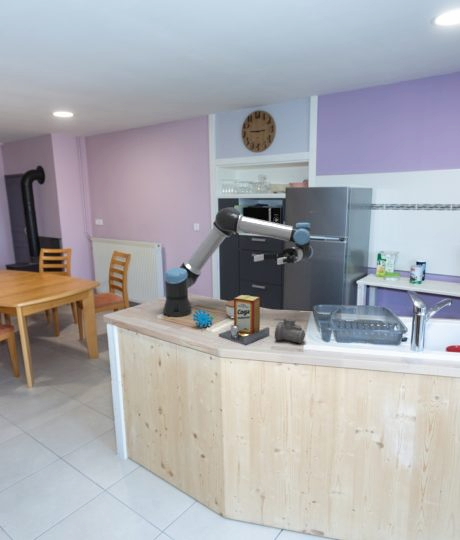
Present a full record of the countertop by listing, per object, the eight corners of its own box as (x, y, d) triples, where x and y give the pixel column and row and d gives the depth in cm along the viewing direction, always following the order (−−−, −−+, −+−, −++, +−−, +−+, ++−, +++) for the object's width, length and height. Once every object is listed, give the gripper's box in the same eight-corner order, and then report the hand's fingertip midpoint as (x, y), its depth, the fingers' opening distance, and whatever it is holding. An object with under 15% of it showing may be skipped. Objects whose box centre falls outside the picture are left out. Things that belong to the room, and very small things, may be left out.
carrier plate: (218, 336, 172) (218, 323, 171) (242, 327, 184) (242, 315, 183) (246, 345, 162) (246, 331, 161) (269, 335, 173) (269, 322, 172)
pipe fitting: (272, 341, 165) (275, 318, 163) (278, 336, 172) (282, 314, 170) (299, 348, 160) (303, 325, 158) (304, 344, 167) (308, 321, 165)
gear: (197, 327, 180) (191, 309, 185) (192, 333, 184) (187, 315, 189) (217, 326, 186) (211, 308, 191) (212, 332, 190) (206, 314, 195)
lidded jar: (221, 317, 200) (221, 299, 199) (237, 313, 207) (236, 296, 206) (235, 321, 192) (235, 303, 191) (250, 317, 199) (250, 299, 198)
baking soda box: (259, 330, 175) (259, 296, 172) (253, 335, 169) (253, 299, 166) (240, 327, 179) (240, 294, 176) (234, 332, 174) (233, 297, 171)
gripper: (313, 265, 187) (288, 271, 172) (271, 259, 204) (245, 265, 189) (313, 249, 186) (288, 254, 171) (271, 245, 203) (245, 249, 187)
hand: (265, 260), depth 180 cm, fingers open, 13 cm apart
